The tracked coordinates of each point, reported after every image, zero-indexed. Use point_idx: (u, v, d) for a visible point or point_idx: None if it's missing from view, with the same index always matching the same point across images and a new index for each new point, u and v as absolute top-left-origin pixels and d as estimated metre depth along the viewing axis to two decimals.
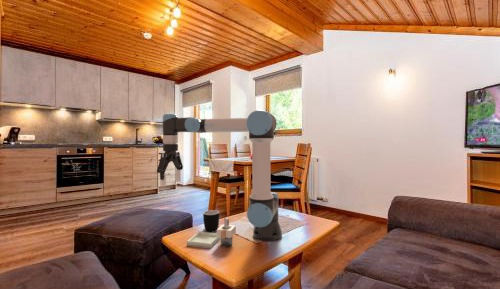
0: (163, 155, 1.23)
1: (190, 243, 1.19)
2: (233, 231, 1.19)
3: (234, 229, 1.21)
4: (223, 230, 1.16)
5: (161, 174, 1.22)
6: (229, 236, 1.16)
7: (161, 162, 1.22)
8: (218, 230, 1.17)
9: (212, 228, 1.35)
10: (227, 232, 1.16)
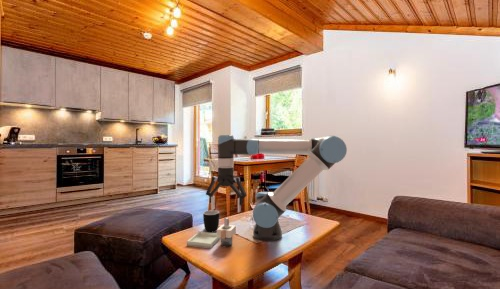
0: None
1: (190, 243, 1.19)
2: (233, 231, 1.19)
3: (234, 229, 1.21)
4: (223, 230, 1.16)
5: None
6: (229, 236, 1.16)
7: None
8: (218, 230, 1.17)
9: (212, 228, 1.35)
10: (227, 232, 1.16)
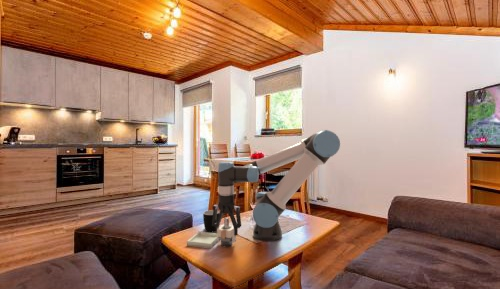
0: None
1: (190, 243, 1.19)
2: None
3: None
4: (223, 230, 1.16)
5: None
6: (229, 236, 1.16)
7: None
8: (218, 230, 1.17)
9: (212, 228, 1.35)
10: (227, 232, 1.16)
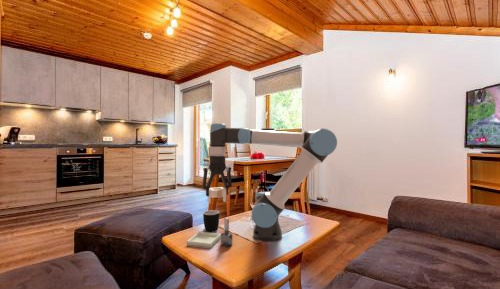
0: (204, 170, 1.18)
1: (190, 243, 1.19)
2: None
3: None
4: (219, 190, 1.17)
5: (206, 190, 1.19)
6: (224, 195, 1.19)
7: (203, 177, 1.18)
8: (213, 191, 1.16)
9: (212, 228, 1.35)
10: (222, 192, 1.18)
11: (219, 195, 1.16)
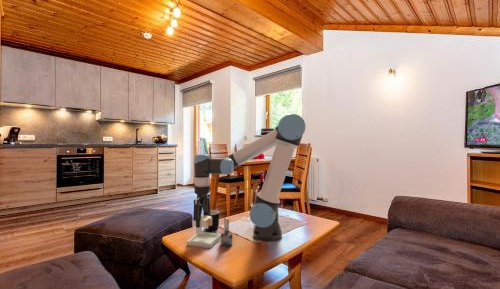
0: (196, 202, 1.17)
1: (190, 243, 1.19)
2: None
3: None
4: (209, 218, 1.23)
5: (197, 222, 1.18)
6: None
7: (196, 210, 1.17)
8: (206, 221, 1.20)
9: (212, 228, 1.35)
10: None
11: (211, 223, 1.22)
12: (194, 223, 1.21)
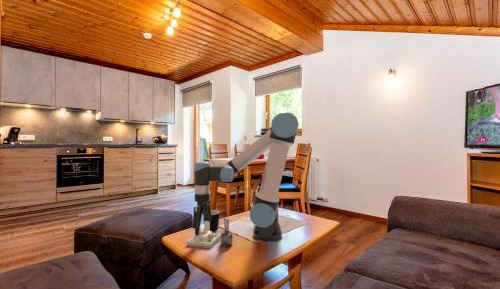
0: (196, 209, 1.17)
1: (190, 243, 1.19)
2: None
3: None
4: (210, 233, 1.23)
5: (196, 230, 1.17)
6: None
7: (195, 217, 1.17)
8: (206, 236, 1.20)
9: (212, 228, 1.35)
10: None
11: (211, 238, 1.22)
12: (194, 239, 1.21)
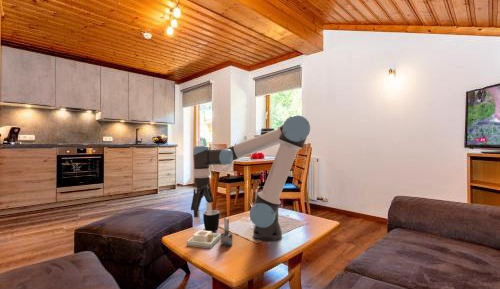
0: (196, 191, 1.17)
1: (190, 243, 1.19)
2: None
3: None
4: (210, 233, 1.23)
5: (195, 211, 1.15)
6: None
7: (195, 199, 1.16)
8: (206, 236, 1.20)
9: (212, 228, 1.35)
10: None
11: (211, 238, 1.22)
12: (194, 239, 1.21)
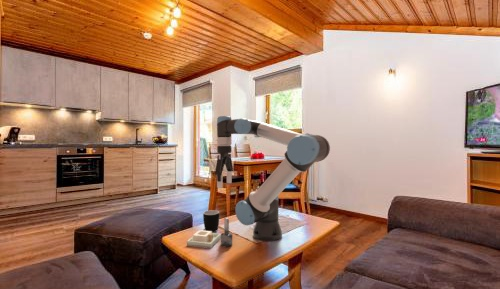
0: (220, 157, 1.24)
1: (190, 243, 1.19)
2: None
3: None
4: (210, 233, 1.23)
5: (218, 176, 1.23)
6: None
7: (218, 164, 1.23)
8: (206, 236, 1.20)
9: (212, 228, 1.35)
10: None
11: (211, 238, 1.22)
12: (194, 239, 1.21)
